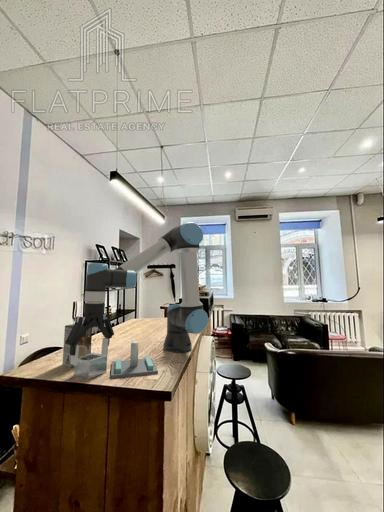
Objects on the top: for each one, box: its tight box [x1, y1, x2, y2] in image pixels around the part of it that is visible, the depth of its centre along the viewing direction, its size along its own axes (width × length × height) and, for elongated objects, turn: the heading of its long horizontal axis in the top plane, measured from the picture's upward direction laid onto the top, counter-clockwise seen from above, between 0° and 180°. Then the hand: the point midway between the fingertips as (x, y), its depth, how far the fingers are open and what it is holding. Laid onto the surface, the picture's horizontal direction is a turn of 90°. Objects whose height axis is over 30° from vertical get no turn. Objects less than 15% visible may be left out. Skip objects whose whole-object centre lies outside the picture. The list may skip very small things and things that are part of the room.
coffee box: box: [61, 322, 93, 368], centre depth 99 cm, size 9×6×16 cm
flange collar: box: [73, 352, 108, 380], centre depth 87 cm, size 8×8×6 cm
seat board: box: [110, 341, 159, 379], centre depth 93 cm, size 17×16×10 cm
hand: (90, 359), depth 88 cm, fingers open, 13 cm apart
